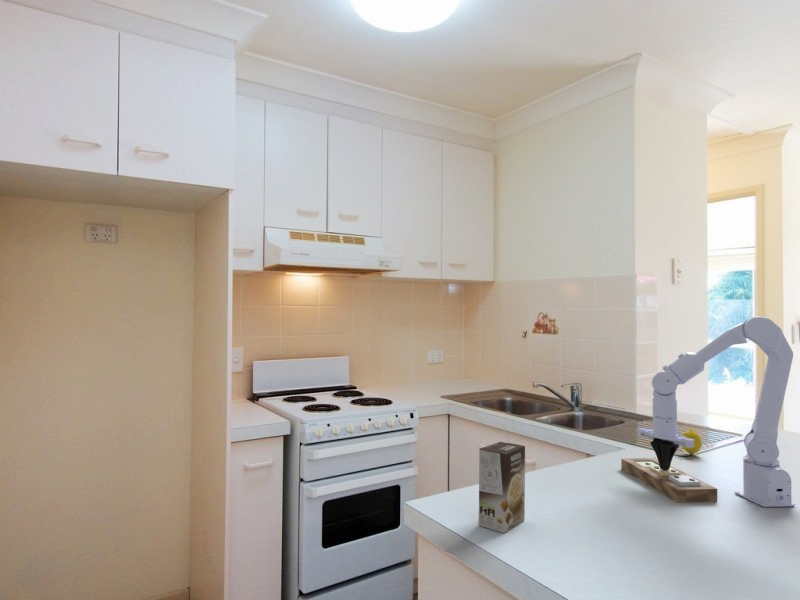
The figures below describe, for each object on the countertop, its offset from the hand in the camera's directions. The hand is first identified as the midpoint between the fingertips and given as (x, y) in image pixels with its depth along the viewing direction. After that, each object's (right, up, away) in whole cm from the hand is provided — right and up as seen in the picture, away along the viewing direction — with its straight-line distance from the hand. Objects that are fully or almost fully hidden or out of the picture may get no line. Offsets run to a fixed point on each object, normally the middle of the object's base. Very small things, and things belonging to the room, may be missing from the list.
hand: (664, 469), depth 136 cm
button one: (-1, -4, +8) cm, 9 cm away
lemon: (+23, -5, +28) cm, 36 cm away
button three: (0, -3, 0) cm, 3 cm away
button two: (+1, -3, -8) cm, 8 cm away
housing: (0, -4, 0) cm, 4 cm away
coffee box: (-48, -3, -26) cm, 55 cm away
